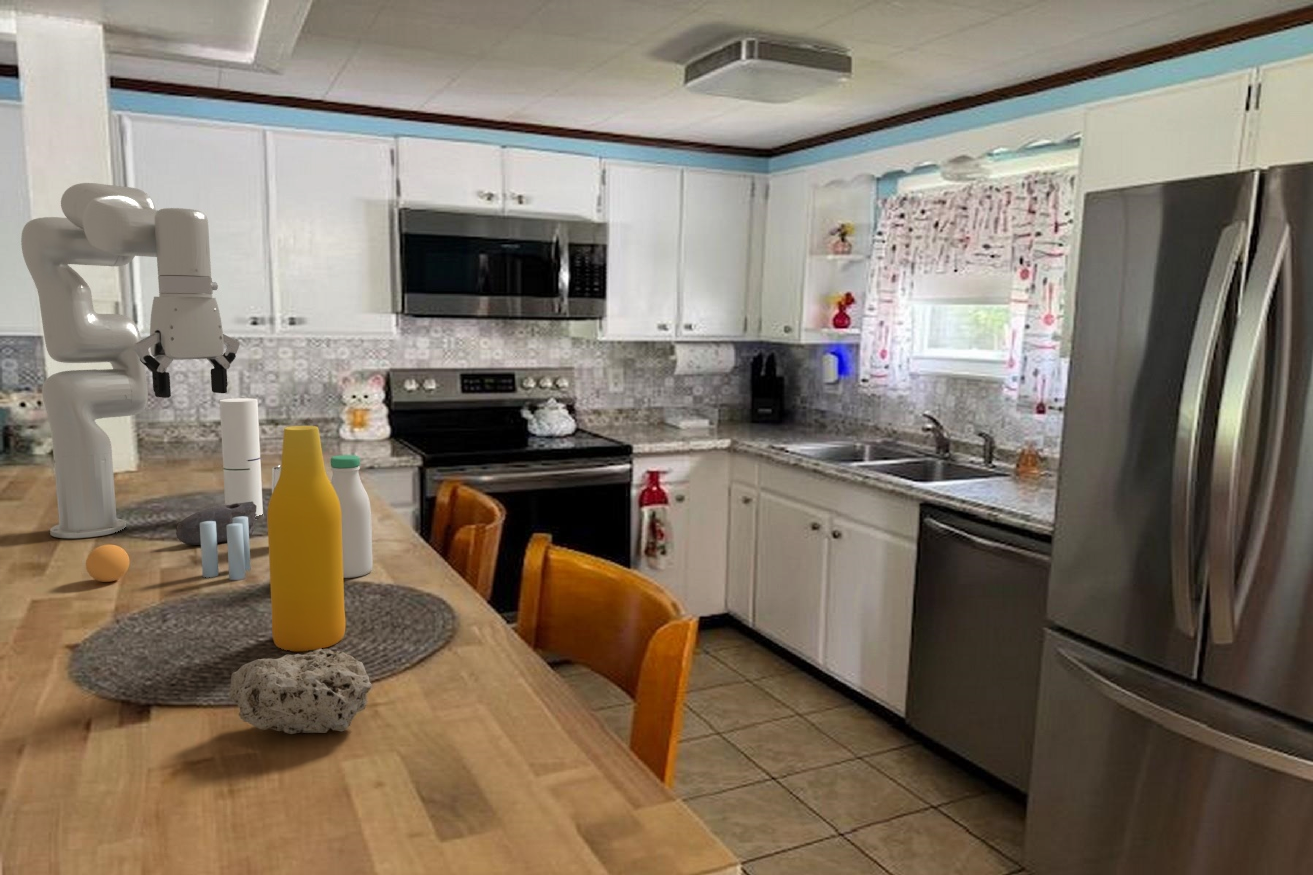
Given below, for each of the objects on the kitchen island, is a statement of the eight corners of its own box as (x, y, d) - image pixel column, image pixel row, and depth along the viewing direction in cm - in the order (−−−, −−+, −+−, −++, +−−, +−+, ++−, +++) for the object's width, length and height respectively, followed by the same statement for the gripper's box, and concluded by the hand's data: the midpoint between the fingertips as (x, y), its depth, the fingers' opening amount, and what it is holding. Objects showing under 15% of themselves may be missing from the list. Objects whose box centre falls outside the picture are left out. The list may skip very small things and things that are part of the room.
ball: (94, 576, 145) (91, 541, 144) (135, 574, 147) (133, 539, 146) (81, 587, 140) (78, 551, 139) (124, 585, 141) (121, 549, 140)
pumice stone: (229, 763, 87) (224, 686, 86) (233, 713, 98) (229, 644, 97) (376, 738, 93) (374, 666, 92) (364, 693, 104) (362, 628, 102)
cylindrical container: (270, 516, 189) (264, 399, 185) (238, 522, 183) (232, 402, 179) (250, 511, 192) (244, 397, 189) (218, 517, 187) (212, 400, 183)
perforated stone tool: (180, 551, 161) (178, 514, 160) (172, 545, 165) (170, 509, 164) (265, 538, 171) (263, 503, 170) (255, 533, 175) (254, 498, 174)
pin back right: (236, 567, 152) (233, 516, 150) (251, 567, 152) (249, 516, 151) (233, 571, 149) (231, 519, 148) (249, 571, 150) (246, 519, 149)
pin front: (204, 573, 148) (201, 521, 147) (220, 572, 149) (217, 520, 147) (201, 577, 146) (198, 524, 144) (217, 577, 146) (214, 524, 145)
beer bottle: (272, 632, 122) (262, 424, 118) (343, 624, 126) (336, 422, 122) (272, 656, 114) (262, 433, 110) (348, 647, 117) (341, 431, 113)
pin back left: (230, 576, 147) (228, 523, 145) (246, 575, 147) (243, 522, 146) (227, 580, 144) (225, 527, 143) (243, 579, 145) (241, 526, 144)
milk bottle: (382, 569, 152) (379, 455, 149) (349, 581, 145) (345, 461, 142) (348, 563, 155) (344, 451, 152) (314, 575, 148) (309, 457, 145)
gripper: (220, 290, 151) (226, 390, 153) (117, 286, 136) (124, 397, 138) (248, 290, 147) (254, 392, 149) (145, 286, 132) (153, 400, 134)
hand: (192, 394), depth 144 cm, fingers open, 9 cm apart
